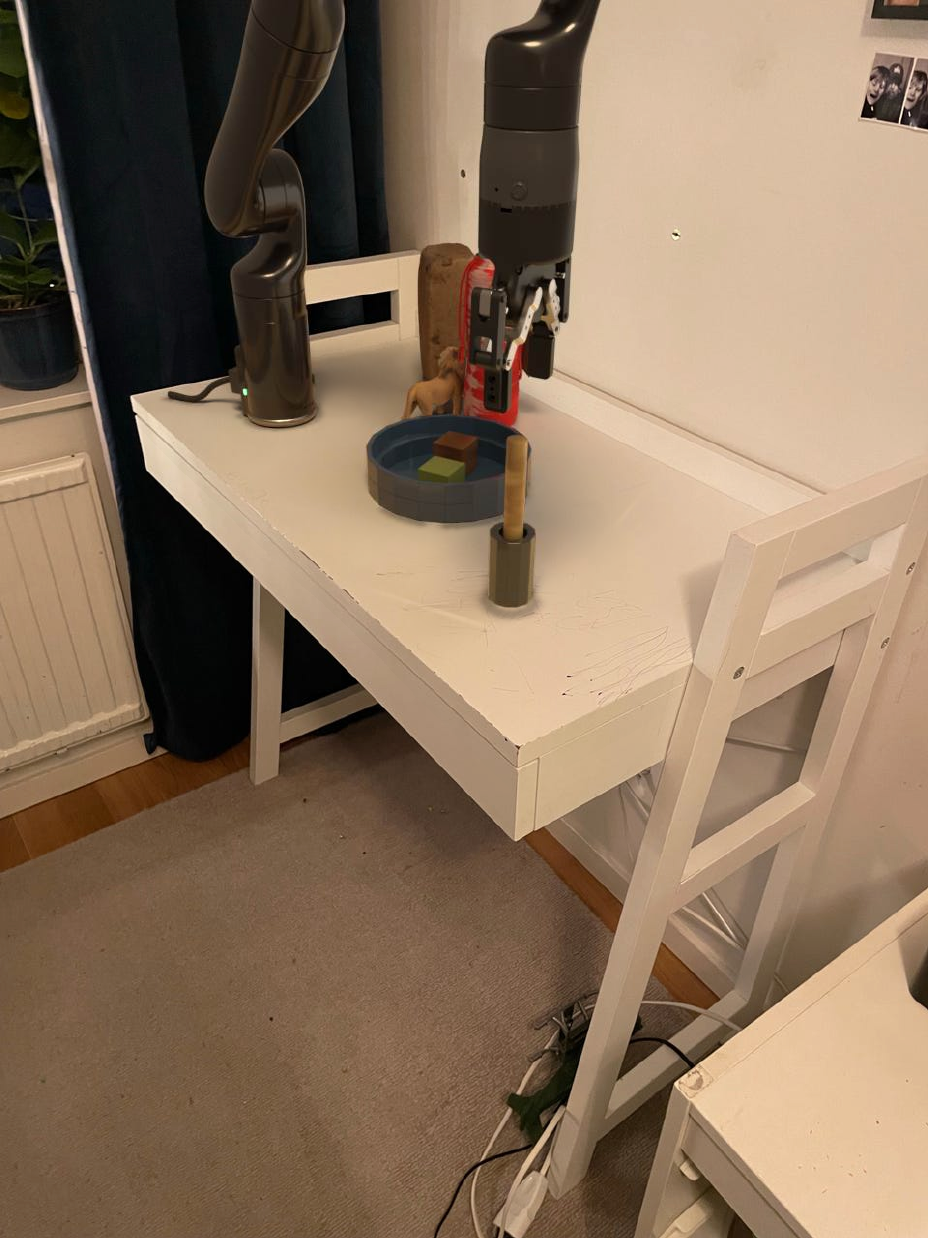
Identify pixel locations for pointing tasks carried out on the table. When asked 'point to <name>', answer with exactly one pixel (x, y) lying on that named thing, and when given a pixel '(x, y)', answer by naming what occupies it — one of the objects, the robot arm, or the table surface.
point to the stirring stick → (514, 486)
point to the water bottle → (473, 392)
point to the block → (440, 302)
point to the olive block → (442, 471)
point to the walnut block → (458, 449)
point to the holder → (511, 567)
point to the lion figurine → (439, 386)
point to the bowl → (402, 493)
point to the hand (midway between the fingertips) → (519, 393)
